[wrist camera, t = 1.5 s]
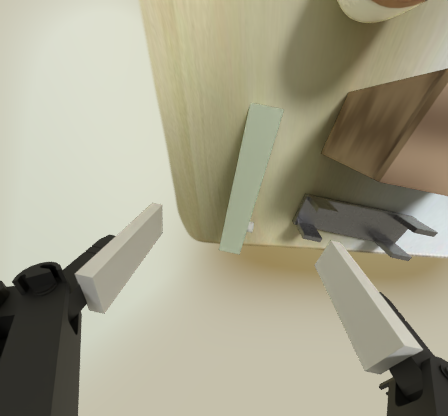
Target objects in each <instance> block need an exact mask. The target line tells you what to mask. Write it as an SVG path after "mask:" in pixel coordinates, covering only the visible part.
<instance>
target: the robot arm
mask: <svg viewBox="0 0 448 416" xmlns="http://www.w3.org/2000/svg"><path fill="white" fill-rule="evenodd" d="M161 234H162V205H160V204H156V203H152V204H151V205H150V206H149V207H147V208H146V209H145V210H144V211H143V212H142V213H141V214H140V215H139V216H138V217H136V218H135V219H134V220H133V221H132V222H131V223H130V224H129V225H128V226H127V227H125V228H124V229H123V230H122V231H121V232H120V233H119V234H118V235H117V236H113V235H108V236H106V237H104V238H101V239H100V240H98V241H97V242H96V243H95V244H94V245H92V247H90V248H89V249H88V250H86V252H84V253H83V254H82V255H80V256H79V257H78V258H77V259H76V260H74V261H73V262H72V263H71V264H70V265H68V266H67V267H66V268H65V269H64V270H62V268H61V266H60V265H59V264H58V263H55V262H44V263H40V264H37V265H34V266H31V267H29V268H27V269H25V270H23V271H22V272H21V273H19V274H18V275H17V276H16V277H15V278H14V280H13V281H12V283H13V284H14V285H15V286H11V287H6V286H5V285H4V283H3V282H2V281H0V416H78V397H79V369H80V343H81V316H82V314H81V310H82V308H84V306H85V305H86V304H87V306H88V308H89V310H90V311H95V312H99V313H105V312H106V311H107V309H108V307H109V306H110V305H111V303H112V302H113V301H114V299H115V298H116V297H117V295H118V294H119V293H120V291H121V290H122V288H123V287H124V286H125V284H126V283H127V281H128V280H129V279H130V277H131V276H132V274H133V273H134V271H135V270H136V269H137V268H138V266H139V265H140V263H141V262H142V261H143V259H144V258H145V256H146V255H147V253H148V252H149V251H150V249H151V248H152V247H153V245H154V244H155V243H156V241H157V240H158V238H159V237H160V236H161ZM315 267H316V270H317V272H318V274H319V276H320V278H321V280H322V282H323V284H324V286H325V288H326V291H327V293H328V295H329V297H330V299H331V301H332V303H333V305H334V307H335V309H336V311H337V314H338V316H339V318H340V320H341V322H342V324H343V326H344V328H345V330H346V333H347V334H348V337H349V339H350V341H351V343H352V345H353V347H354V349H355V352H356V354H357V356H358V358H359V360H360V362H361V364H362V366H363V368H364V370H365V371H367V372H372V373H377V374H382V373H383V372H385V371H387V370H390V372H391V374H392V375H393V378H391V379H389V380H387V381H385V382H383V383H381V384H380V386H379V388H380V389H381V390H382V389H384V388H386V387H389V391H388V392H386V394H387V395H388V407H387V416H448V362H447V361H445V360H443V359H442V358H439V357H435V356H434V355H433V354H432V352H431V351H430V350H429V349H428V347H427V346H426V345H425V344H424V342H423V341H422V340H421V339H420V337H419V336H418V335H417V334H416V332H415V331H414V330H413V329H412V327H411V326H410V325H409V324H408V322H407V321H405V319H404V317H403V316H402V315H401V314H400V313H399V312H398V310H397V309H396V307H395V306H394V305H393V304H392V303H391V301H390V300H389V299H388V298H387V297H385V296H384V295H383V294H382V293H381V292H378V290H377V289H376V288H375V287H374V285H373V284H372V283H371V281H370V280H369V279H368V277H367V276H366V275H365V274H364V272H363V271H362V270H361V269H360V267H359V266H358V265H357V263H356V262H355V261H354V259H353V258H352V257H351V255H350V254H349V253H348V252H347V250H346V249H345V248H344V246H343V245H342V244H341V242H336V241H331V240H330V242H329V243H328V245H327V247H326V248H325V250H324V251H323V253H322V255H321V256H320V258H319V259H318V261H317V262H316V264H315Z"/></svg>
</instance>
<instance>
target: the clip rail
mask: <svg viewBox="0 0 448 416" xmlns="http://www.w3.org/2000/svg"><path fill="white" fill-rule="evenodd" d="M293 223H294V224H295V225H297V227H298V230H299V232H300V234H301V236H302V238H303V239H307V240H312V241H317V242H321V240H322V237H321V236H320V234H319V232H318V231H317V229H319V230H323V231H328V232H333V233H338V234H342V235H347V236H352V237H357V238H361V239H366V240H371V241H374V242H375V243H376V244H377V245H378V246H380V247H381V248H382V249H383V250H384V251H385V252H386V253H387V254H388V255H389V256H390V257H392V258H397V259H401V260H406V261H409V260H410V259H411V258H412V257H410V256H409V255H408V254H407V253H406V252H405V251H403V250H402V249H401V248H400V247H399V246H398V245H396V244H395V242H396V241H397V240H398V239H399V238H400V237H401V236H402V235H403V234H404V233H405V232H406V230H407V229H409V230H411V231H412V232H414V233H418V234H423V235H427V236H432V237H434V236H435V235H436V234H437V233H438V232H436V231H434V230H433V229H431V228H429V227H428V226H426V225H424V224H423V223H421V222H419V221H418V220H417V219H416V218H414V217H412V216H409V215H404V214H399V213H394V212H389V211H385V210H380V209H375V208H370V207H365V206H361V205H356V204H351V203H346V202H342V201H337V200H332V199H327V198H322V197H318V196H313V195H308V194H305V196H304V198H303V200H302V202H301V204H300V207H299V209H298V211H297V213H296V215H295V217H294V219H293Z"/></svg>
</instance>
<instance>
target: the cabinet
mask: <svg viewBox="0 0 448 416" xmlns="http://www.w3.org/2000/svg"><path fill="white" fill-rule="evenodd" d="M321 154H323V155H325V156H327V157H329V158H331V159H333V160H335V161H337V162H340V163H342V164H344V165H346V166H348V167H350V168H352V169H354V170H356V171H358V172H360V173H362V174H364V175H366V176H368V177H370V178H372V179H374V180H376V181H378V182H382V183H387V184H392V185H397V186H402V187H406V188H411V189H416V190H421V191H426V192H431V193H435V194H440V195H445V196H448V69H444V70H440V71H435V72H431V73H427V74H423V75H419V76H414V77H410V78H406V79H402V80H398V81H394V82H389V83H385V84H381V85H377V86H373V87H368V88H364V89H360V90H356V91H352V92H349V93H348V95H347V97H346V99H345V102H344V104H343V106H342V108H341V110H340V113H339V115H338V117H337V119H336V121H335V124H334V126H333V128H332V130H331V132H330V134H329V137H328V139H327V141H326V143H325V145H324V148H323V150H322V152H321Z"/></svg>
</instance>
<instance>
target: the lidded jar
mask: <svg viewBox="0 0 448 416" xmlns="http://www.w3.org/2000/svg"><path fill="white" fill-rule="evenodd" d="M337 1H338V3H339V6H340V8H341V9H342V11H343V12H344V13H345V14H346V15H347V16H348V17H349V18H351V19H353V20H355V21H358V22H363V23H375V22H381V21H384V20H388V19H391V18H393V17H396V16H399V15H401V14H403V13H405V12H407V11H409V10H411V9H413V8H415V7H417V6H418V5H420V4H422V3H423V2H425V1H427V0H337Z"/></svg>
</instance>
